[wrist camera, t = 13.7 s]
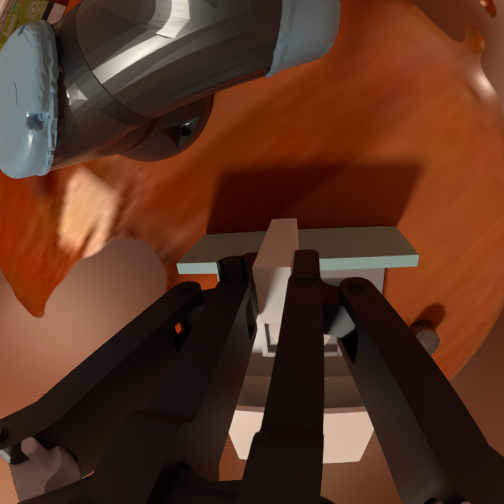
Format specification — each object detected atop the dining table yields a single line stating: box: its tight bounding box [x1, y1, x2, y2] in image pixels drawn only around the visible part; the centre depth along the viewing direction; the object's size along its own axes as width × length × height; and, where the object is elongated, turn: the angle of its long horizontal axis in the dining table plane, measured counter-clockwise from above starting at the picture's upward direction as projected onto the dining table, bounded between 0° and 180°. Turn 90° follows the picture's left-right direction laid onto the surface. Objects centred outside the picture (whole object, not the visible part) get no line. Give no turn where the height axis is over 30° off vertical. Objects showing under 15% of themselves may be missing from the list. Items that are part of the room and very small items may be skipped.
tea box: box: [0, 0, 66, 52], centre depth 20 cm, size 15×10×15 cm, turn 162°
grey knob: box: [409, 320, 440, 355], centre depth 35 cm, size 5×5×4 cm
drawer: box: [177, 226, 419, 377], centre depth 34 cm, size 24×24×9 cm
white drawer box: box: [229, 375, 374, 463], centre depth 42 cm, size 20×24×10 cm
